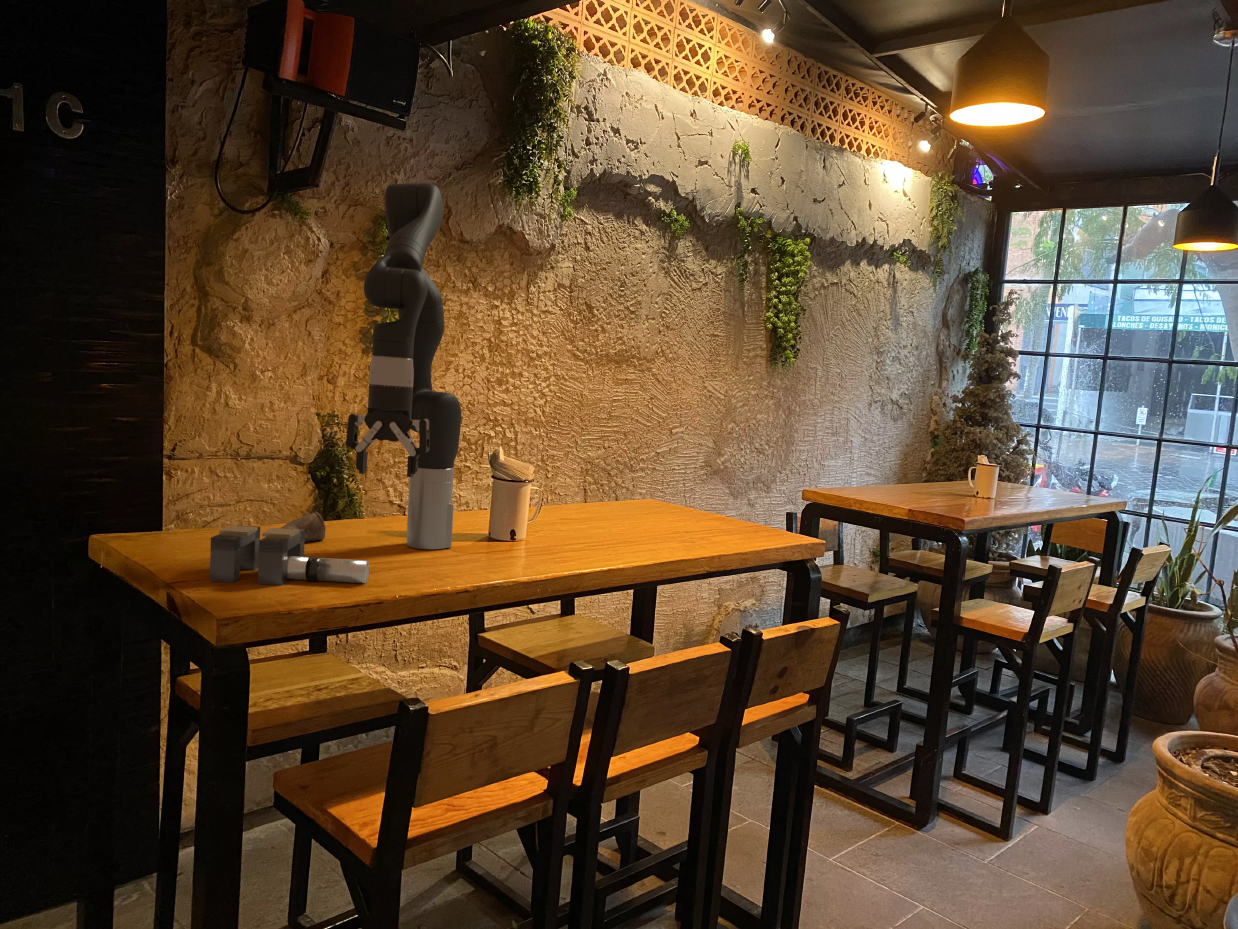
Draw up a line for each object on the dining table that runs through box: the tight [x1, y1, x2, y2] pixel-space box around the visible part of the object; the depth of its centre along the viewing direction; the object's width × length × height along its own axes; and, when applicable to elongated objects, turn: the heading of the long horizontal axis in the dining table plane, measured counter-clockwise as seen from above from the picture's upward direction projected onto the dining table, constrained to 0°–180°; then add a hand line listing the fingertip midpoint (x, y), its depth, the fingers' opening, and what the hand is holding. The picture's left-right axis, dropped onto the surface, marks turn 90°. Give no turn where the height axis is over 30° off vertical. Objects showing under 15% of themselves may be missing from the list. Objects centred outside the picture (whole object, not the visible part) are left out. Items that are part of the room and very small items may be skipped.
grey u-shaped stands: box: [209, 524, 306, 586], centre depth 155 cm, size 12×12×8 cm
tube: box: [287, 556, 370, 584], centre depth 154 cm, size 18×4×4 cm
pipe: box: [280, 511, 327, 543], centre depth 181 cm, size 6×17×10 cm
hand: (386, 475), depth 155 cm, fingers open, 8 cm apart
